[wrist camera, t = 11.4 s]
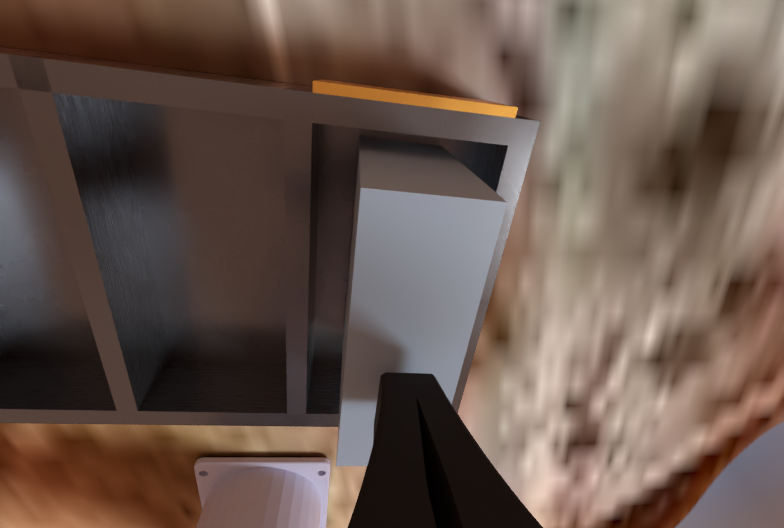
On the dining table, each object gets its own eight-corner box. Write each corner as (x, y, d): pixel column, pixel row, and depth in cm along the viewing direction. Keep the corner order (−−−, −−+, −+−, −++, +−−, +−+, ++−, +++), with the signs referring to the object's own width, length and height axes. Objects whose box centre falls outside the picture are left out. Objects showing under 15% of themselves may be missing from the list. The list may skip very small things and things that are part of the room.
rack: (437, 370, 21) (453, 428, 17) (13, 356, 18) (-66, 422, 15) (499, 101, 14) (543, 110, 11) (-136, 18, 12) (-335, -4, 8)
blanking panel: (408, 332, 18) (434, 465, 12) (343, 329, 18) (336, 465, 12) (441, 145, 14) (507, 202, 8) (359, 136, 14) (361, 187, 8)
